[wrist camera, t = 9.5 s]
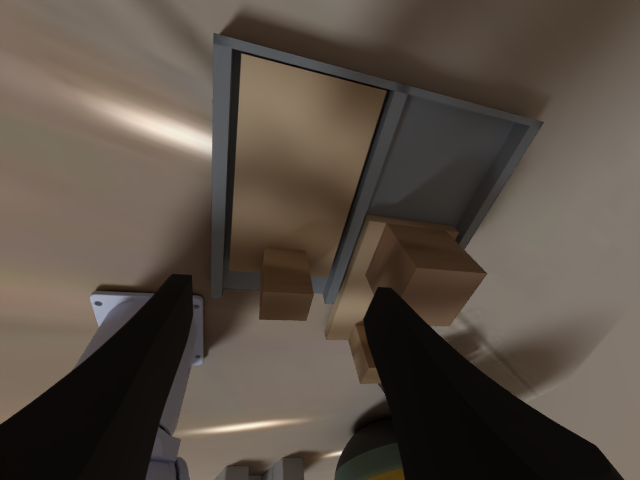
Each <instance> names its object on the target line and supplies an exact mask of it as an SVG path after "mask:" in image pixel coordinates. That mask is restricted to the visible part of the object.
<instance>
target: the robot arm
mask: <svg viewBox="0 0 640 480" xmlns="http://www.w3.org/2000/svg"><path fill="white" fill-rule="evenodd" d="M90 301H91V304H92V307H93V310H94V313H95V316H96V320H97V323H98V326H99V328H98V330H97V332H96V333H95V335H94V336H93V338H92V340H91V341H90V343H89V345H88V346H87V348H86V349H85V351H84V353H83V354H82V356H81V358H80V359H79V361H78V362H77V364H76V366H75V367H74V369H73V370H72V371H71V372H70V373H69V374H67V375H66V376H65V377H64V378H62V379H61V380H60V381H59V382H57V383H56V384H55V385H53V386H52V387H51V388H49V389H48V390H47V391H45V392H44V393H43V394H42V395H40V396H39V397H38V398H36V399H35V400H34V401H32V402H31V403H30V404H28V405H27V406H26V407H24V408H23V409H21V410H20V411H19V412H17V413H16V414H14V415H13V416H12V417H10V418H9V419H7V420H6V421H5V422H3V423H2V424H0V480H190V478H189V472H188V468H187V464H186V462H185V460H184V459H182V458H181V457H177V454H178V450H179V446H180V441H181V440H180V439H179V438H175V437H172V435H173V433H174V431H175V429H176V426H177V423H178V419H179V415H180V411H181V407H182V403H183V399H184V395H185V390H186V386H187V382H188V378H189V374H190V370H191V366H192V365H201V364H203V361H204V332H203V298H202V297H201V296H197V295H193V293H192V275H179V274H172V275H171V276H170V277H169V278H168V279H167V280H166V281H165V282H164V284H163V285H162V286H161V287H160V288H159V289H158V290H157V291H156V293H132V292H110V291H94V292H93V293H92V294H91V295H90ZM99 301H100V302H99ZM197 305H198V306H197ZM363 322H364V328H365V333H366V338H367V342H368V346H369V349H370V352H371V355H372V358H373V361H374V364H375V367H376V369H377V372H378V375H379V378H380V381H381V384H382V387H383V390H384V393H385V396H386V399H387V402H388V406H389V409H390V413H391V417H392V421H393V426H394V430H395V434H396V438H397V443H398V448H399V452H400V457H401V462H402V467H403V472H404V477H405V480H624V479H623V478H622V476H621V475H620V474H619V473H618V472H617V470H616V469H615V468H614V467H613V465H612V464H611V463H610V462H609V460H608V459H607V458H606V457H605V456H604V454H603V453H602V452H601V451H600V450H599V448H598V447H597V446H596V445H594V444H592V443H591V442H589V441H587V440H585V439H584V438H582V437H580V436H579V435H577V434H575V433H573V432H571V431H570V430H568V429H566V428H565V427H563V426H561V425H560V424H558V423H556V422H554V421H553V420H551V419H549V418H548V417H546V416H545V415H543V414H542V413H540V412H539V411H537V410H535V409H534V408H532V407H531V406H529V405H528V404H526V403H525V402H523V401H522V400H520V399H519V398H517V397H516V396H514V395H513V394H511V393H510V392H509V391H507V390H506V389H504V388H503V387H502V386H500V385H499V384H497V383H496V382H495V381H493V380H492V379H491V378H489V377H488V376H487V375H485V374H484V373H483V372H481V371H480V370H479V369H478V368H476V367H475V366H474V365H473V364H471V363H470V362H469V361H468V360H467V359H465V358H464V357H463V356H462V355H461V354H459V353H458V352H457V351H456V350H455V349H454V348H453V347H452V346H450V345H449V344H448V343H447V342H446V341H445V340H444V339H443V338H442V337H441V336H439V335H438V334H437V333H436V332H435V331H434V330H433V329H432V328H431V327H430V326H429V325H428V324H427V323H426V322H425V321H424V320H423V319H422V318H421V317H420V316H419V315H418V314H417V313H416V312H415V311H414V310H413V309H412V308H411V307H410V306H409V305H408V304H407V303H406V302H405V301H404V300H403V299H402V298H401V297H400V296H399V295H398V294H397V293H396V292H395V291H394V290H393V289H392V288H390V287H378V288H377V290H376V292H375V294H374V296H373V299H372V301H371V303H370V305H369V307H368V310H367V312H366V314H365V316H364V318H363Z"/></svg>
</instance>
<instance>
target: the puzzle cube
mask: <svg viewBox="0 0 640 480" xmlns="http://www.w3.org/2000/svg"><path fill="white" fill-rule="evenodd" d="M248 474H249V467H246V466H226V467H225V468H224V469H223V471H222V472H221V473H220V474H219V475H218V476H217V477H216V478H215V479H214V480H304V471H303V459H302V458H288V457H283V458H281V459H280V460H279V461H278V462H277V463H276V464H275V465H274V466H273V467H272V468H270V469H269V470H268V471H267V472H266V473H265V474H264V475H263V476H248Z"/></svg>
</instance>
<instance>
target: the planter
mask: <svg viewBox="0 0 640 480" xmlns="http://www.w3.org/2000/svg"><path fill="white" fill-rule="evenodd" d="M334 480H405V477H404V472H403V467H402V462H401V457H400V452H399V448H398V443H397V438H396V434H395V430H394V426H393V421H392V419H386V420H381V421H377V422H374V423H372V424H369V425H367V426H366V427H364V428H362V429H361V430H359V431H358V432H357V433H356V434H355V435H354V436H353V437H352V438H351V439H350V441H349V442H348V443H347V445H346V447H345V448H344V450H343V452H342V454H341V456H340V459H339V461H338V464H337V468H336V472H335V479H334Z"/></svg>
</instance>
